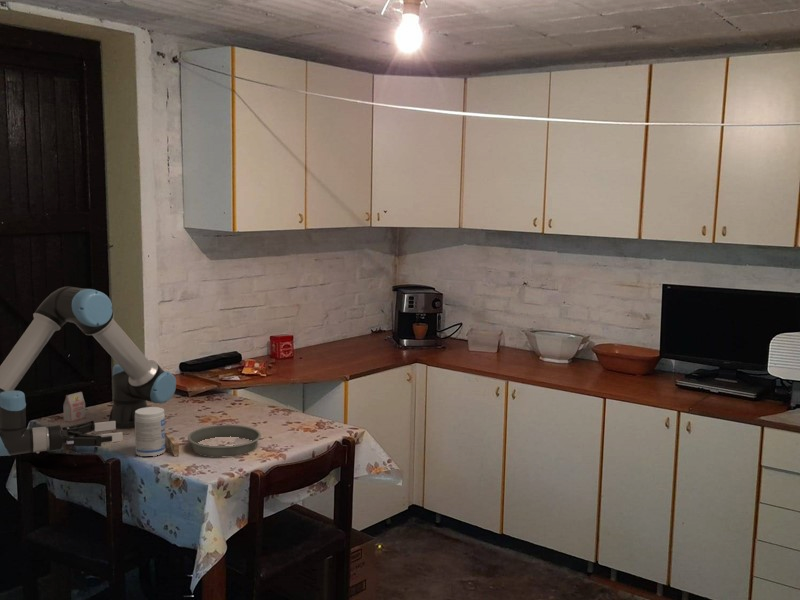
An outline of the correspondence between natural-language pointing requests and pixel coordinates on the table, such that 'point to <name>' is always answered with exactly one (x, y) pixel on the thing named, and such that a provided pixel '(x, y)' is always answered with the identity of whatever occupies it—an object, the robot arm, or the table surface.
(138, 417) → the supplement tub
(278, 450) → the table surface
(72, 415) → the gable top carton
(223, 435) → the cake pan
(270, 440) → the table surface
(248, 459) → the table surface
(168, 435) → the stop rail
